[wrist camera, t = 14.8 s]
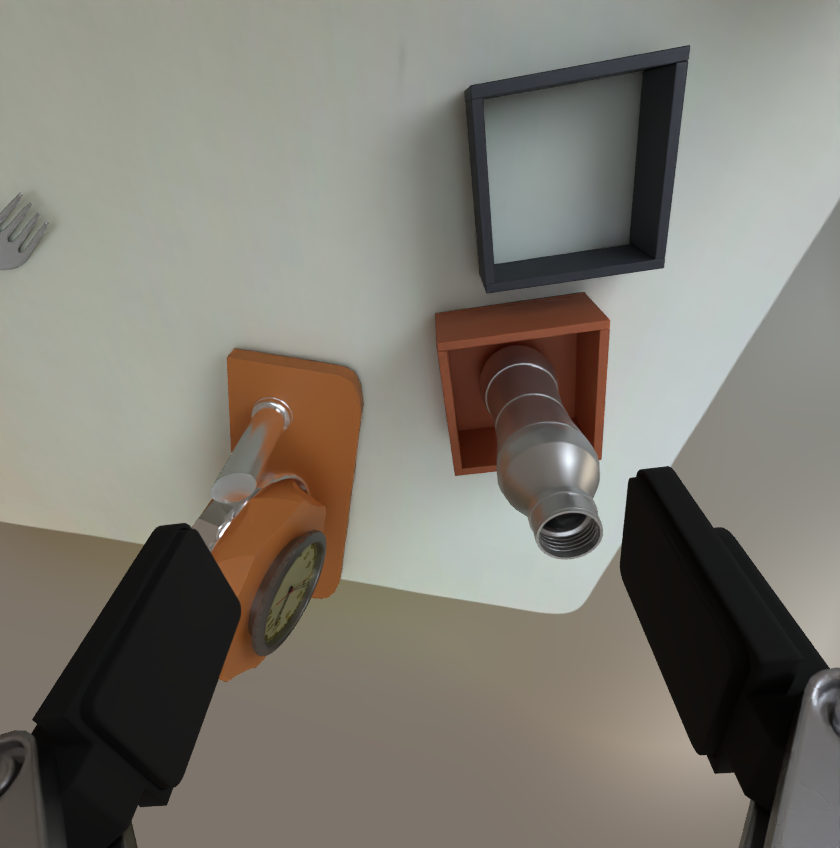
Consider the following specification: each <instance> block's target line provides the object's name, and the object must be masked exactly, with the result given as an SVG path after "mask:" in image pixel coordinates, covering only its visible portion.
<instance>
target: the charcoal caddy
mask: <svg viewBox="0 0 840 848" xmlns="http://www.w3.org/2000/svg"><path fill="white" fill-rule="evenodd" d="M689 52H690V45H688V46H682V47H677V48H671V49H666V50H661V51H655V52H650V53H644V54H639V55H633V56H628V57H623V58H617V59H612V60H606V61H601V62H595V63H590V64H584V65H579V66H574V67H568V68H563V69H557V70H552V71H546V72H541V73H536V74H530V75H525V76H519V77H514V78H508V79H503V80H498V81H492V82H487V83H481V84H476V85H471V86H470V87H469V88H467V89H466V90H465V102H466V116H467V128H468V140H469V152H470V164H471V176H472V188H473V200H474V212H475V224H476V236H477V248H478V260H479V272H480V277H481V280H482V283H483V286H484V288H485V291H486V293H494V292H501V291H508V290H515V289H522V288H529V287H536V286H542V285H549V284H556V283H563V282H570V281H577V280H584V279H591V278H598V277H605V276H612V275H619V274H626V273H633V272H640V271H647V270H653V269H660V268H664V263H665V253H666V245H667V236H668V228H669V219H670V211H671V203H672V194H673V186H674V177H675V169H676V161H677V152H678V144H679V135H680V127H681V118H682V110H683V102H684V93H685V85H686V76H687V68H688V61H687V60H688V59H689ZM639 71H643V79H642V92H641V104H640V117H639V130H638V142H637V155H636V167H635V180H634V193H633V205H632V218H631V231H630V244H628V245H621V246H614V247H608V248H601V249H594V250H587V251H581V252H574V253H567V254H561V255H554V256H547V257H541V258H534V259H527V260H521V261H514V262H507V263H500V264H494V257H493V242H492V227H491V212H490V197H489V182H488V167H487V152H486V137H485V122H484V107H483V100H484V99H490V98H495V97H501V96H506V95H512V94H517V93H523V92H529V91H534V90H540V89H545V88H551V87H556V86H562V85H567V84H573V83H578V82H584V81H589V80H595V79H600V78H606V77H612V76H617V75H623V74H628V73H634V72H639Z"/></svg>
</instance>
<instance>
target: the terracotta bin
mask: <svg viewBox="0 0 840 848" xmlns="http://www.w3.org/2000/svg"><path fill="white" fill-rule="evenodd" d="M435 324H436V345H437V351H438V359H439V366H440V373H441V380H442V387H443V395H444V402H445V409H446V416H447V423H448V430H449V437H450V444H451V451H452V458H453V465H454V472H455V476H459V475H468V474H477V473H486V472H495V471H497V468H496V467H497V437H496V429H495V425H494V422H493V420H492V417H491V414H490V413H489V411H488V410H487V408H486V407H485V405H484V402H483V400H482V398H481V395H480V389H479V384H480V376H481V372H482V368H483V366H484V364H485V363H486V361H487V360H488V359H489V357H490V356H491V355H493V354H494V353H495V352H497V351H498V350H500V349H502V348H505V347H508V346H513V345H524V346H528V347H531V348H533V349H535V350H537V351H538V352H540V353H541V354H542V355H543V356H544V357H546V358H547V360H548V361H549V362H550V363H551V364H552V366H553V368H554V370H555V374H556V377H557V382H558V392H559V396H560V399H561V402H562V405H563V407H564V409H565V410H566V412H567V414H568V415H569V417H570V419H571V420H572V422H573V423H574V424H575V425H576V426H577V428H578V429H579V430H580V431H581V432H582V434H583V435H584V436H585V437H586V438H587V440H588V441H589V442H590V444H591V445H592V447H593V448H594V450H595V452H596V454H597V456H598V460H601V458H602V442H603V427H604V411H605V395H606V380H607V364H608V348H609V333H610V329H609V328H610V319H609V318H608V317H607V316H606V315H605V314H604V313H603V312H602V311H601V310H600V309H599V308H598V306H597V305H596V304H595V303H594V302H593V301H592V300H591V299H590V298H589V297H588V296H587V295H586V293H585V292H581V293H574V294H567V295H560V296H553V297H546V298H539V299H532V300H525V301H518V302H511V303H504V304H497V305H490V306H483V307H476V308H469V309H462V310H455V311H447V312H440V313H435Z"/></svg>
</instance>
